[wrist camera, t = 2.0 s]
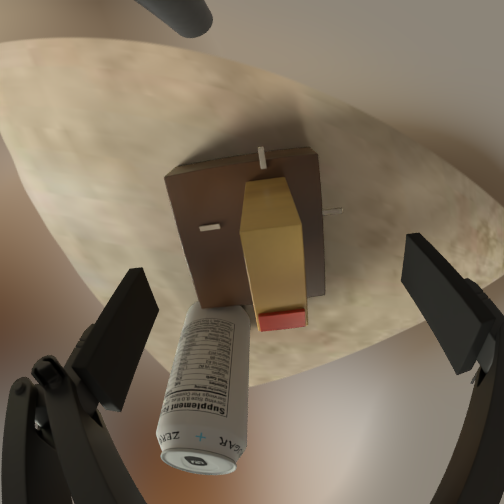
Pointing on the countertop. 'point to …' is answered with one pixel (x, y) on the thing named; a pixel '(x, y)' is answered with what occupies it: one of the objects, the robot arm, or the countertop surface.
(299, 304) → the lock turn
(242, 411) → the energy drink can
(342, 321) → the countertop surface
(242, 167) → the plate
